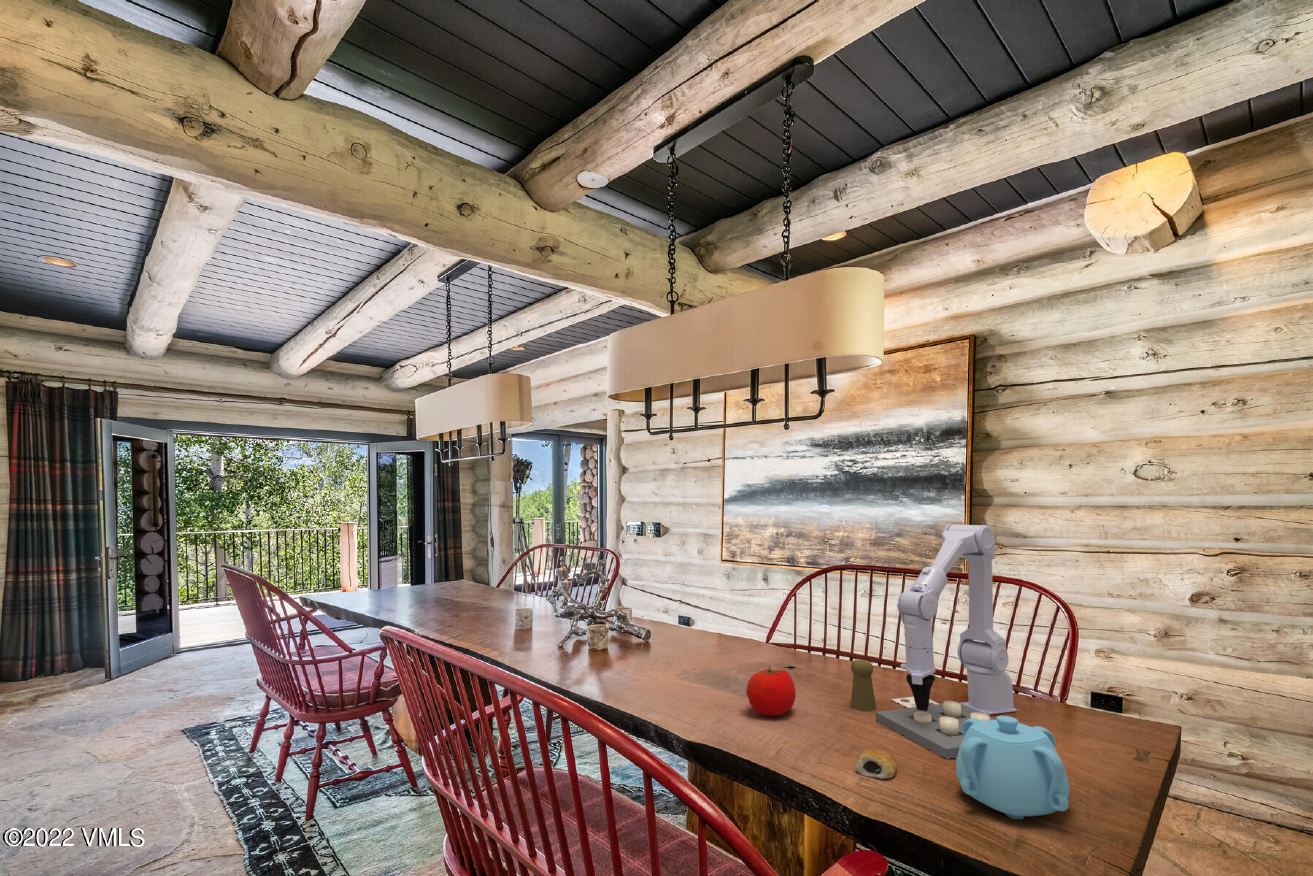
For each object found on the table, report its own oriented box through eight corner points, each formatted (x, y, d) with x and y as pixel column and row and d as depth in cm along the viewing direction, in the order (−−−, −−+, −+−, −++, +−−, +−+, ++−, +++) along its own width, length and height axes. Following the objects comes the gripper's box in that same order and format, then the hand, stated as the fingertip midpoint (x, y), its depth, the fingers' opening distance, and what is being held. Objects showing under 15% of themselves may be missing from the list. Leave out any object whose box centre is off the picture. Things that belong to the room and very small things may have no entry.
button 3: (924, 724, 137) (923, 710, 137) (935, 729, 133) (935, 716, 134) (910, 726, 136) (910, 712, 136) (922, 731, 132) (921, 717, 133)
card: (921, 697, 156) (921, 695, 156) (944, 707, 148) (944, 705, 148) (891, 700, 153) (891, 698, 153) (913, 711, 146) (913, 709, 146)
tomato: (808, 715, 144) (807, 670, 145) (767, 725, 137) (766, 678, 138) (776, 702, 153) (774, 660, 154) (736, 711, 147) (735, 667, 148)
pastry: (867, 757, 120) (866, 736, 121) (903, 765, 117) (902, 744, 117) (853, 775, 113) (853, 753, 113) (892, 784, 109) (891, 762, 109)
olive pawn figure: (878, 712, 145) (876, 664, 146) (851, 710, 146) (850, 663, 148) (874, 703, 151) (872, 657, 152) (849, 702, 152) (847, 656, 153)
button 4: (950, 729, 129) (949, 715, 130) (963, 736, 126) (962, 721, 126) (936, 731, 128) (935, 717, 129) (948, 738, 125) (948, 723, 125)
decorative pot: (964, 773, 113) (960, 696, 114) (1069, 795, 104) (1063, 711, 105) (952, 811, 99) (946, 723, 101) (1071, 839, 90) (1063, 743, 92)
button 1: (953, 713, 139) (952, 700, 140) (965, 718, 136) (964, 705, 136) (940, 715, 138) (939, 701, 139) (952, 720, 135) (951, 706, 135)
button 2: (980, 725, 132) (980, 711, 132) (994, 731, 128) (993, 717, 129) (967, 727, 131) (966, 713, 131) (980, 733, 127) (979, 719, 127)
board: (955, 710, 146) (954, 702, 146) (1036, 746, 125) (1035, 735, 125) (876, 721, 139) (875, 711, 140) (947, 759, 118) (946, 749, 119)
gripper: (903, 637, 145) (906, 697, 143) (895, 651, 132) (898, 717, 131) (936, 640, 141) (940, 701, 140) (931, 655, 129) (934, 722, 127)
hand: (922, 709), depth 135 cm, fingers closed
